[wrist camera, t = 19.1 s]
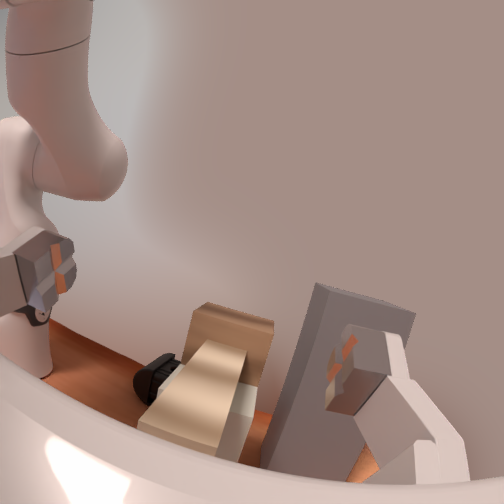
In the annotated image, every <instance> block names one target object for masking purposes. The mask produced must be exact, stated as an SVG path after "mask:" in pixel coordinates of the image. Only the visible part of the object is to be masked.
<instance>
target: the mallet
mask: <svg viewBox="0 0 504 504" xmlns="http://www.w3.org/2000/svg"><path fill="white" fill-rule="evenodd" d="M273 336H274V321H272V320H268V319H265V318H261V317H257V316H254V315H251V314H247V313H244V312H240V311H237V310H233V309H230V308H226V307H223V306H220V305H216V304H213V303H210V302H207V303H205V304H204V305H202V306H201V307H199V308H198V309H196V310H194V311H193V315H192V319H191V323H190V327H189V331H188V335H187V339H186V343H185V348H184V352H183V356H182V360H181V364H183V365H185V366H184V367H183V369H182V370H181V371H180V372H179V373H178V374H177V376H176V377H175V378H174V379H173V380H172V381H171V383H170V384H169V385H168V386H167V387H166V388H165V390H164V391H163V392H162V393H161V394H160V395H159V397H158V398H157V399H156V400H155V401H154V402H153V404H152V405H151V406H150V407H149V408H148V409H147V411H146V412H145V413H144V414H143V415H142V416H141V417H140V419H139V420H138V424H137V429H138V430H140V431H143V432H145V433H148V434H150V435H153V436H155V437H158V438H161V439H163V440H166V441H169V442H171V443H174V444H177V445H180V446H183V447H186V448H189V449H192V450H195V451H198V452H201V453H204V454H207V455H211V456H214V457H215V454H216V451H217V448H218V445H219V442H220V439H221V435H222V432H223V429H224V426H225V423H226V419H227V416H228V413H229V410H230V406H231V403H232V400H233V397H234V393H235V390H236V387H237V383H238V382H240V383H244V384H248V385H251V386H255V387H258V384H259V381H260V378H261V375H262V372H263V368H264V365H265V362H266V359H267V355H268V352H269V349H270V346H271V342H272V339H273Z"/></svg>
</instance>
